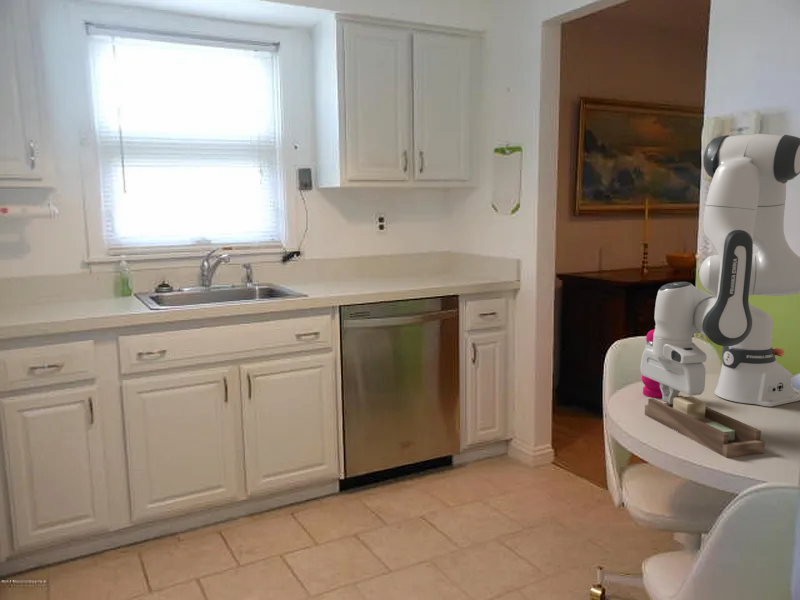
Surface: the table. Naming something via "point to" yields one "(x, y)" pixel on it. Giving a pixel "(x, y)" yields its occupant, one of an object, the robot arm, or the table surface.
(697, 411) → the maple block
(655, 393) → the pepper mill
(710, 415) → the tray
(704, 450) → the table surface
